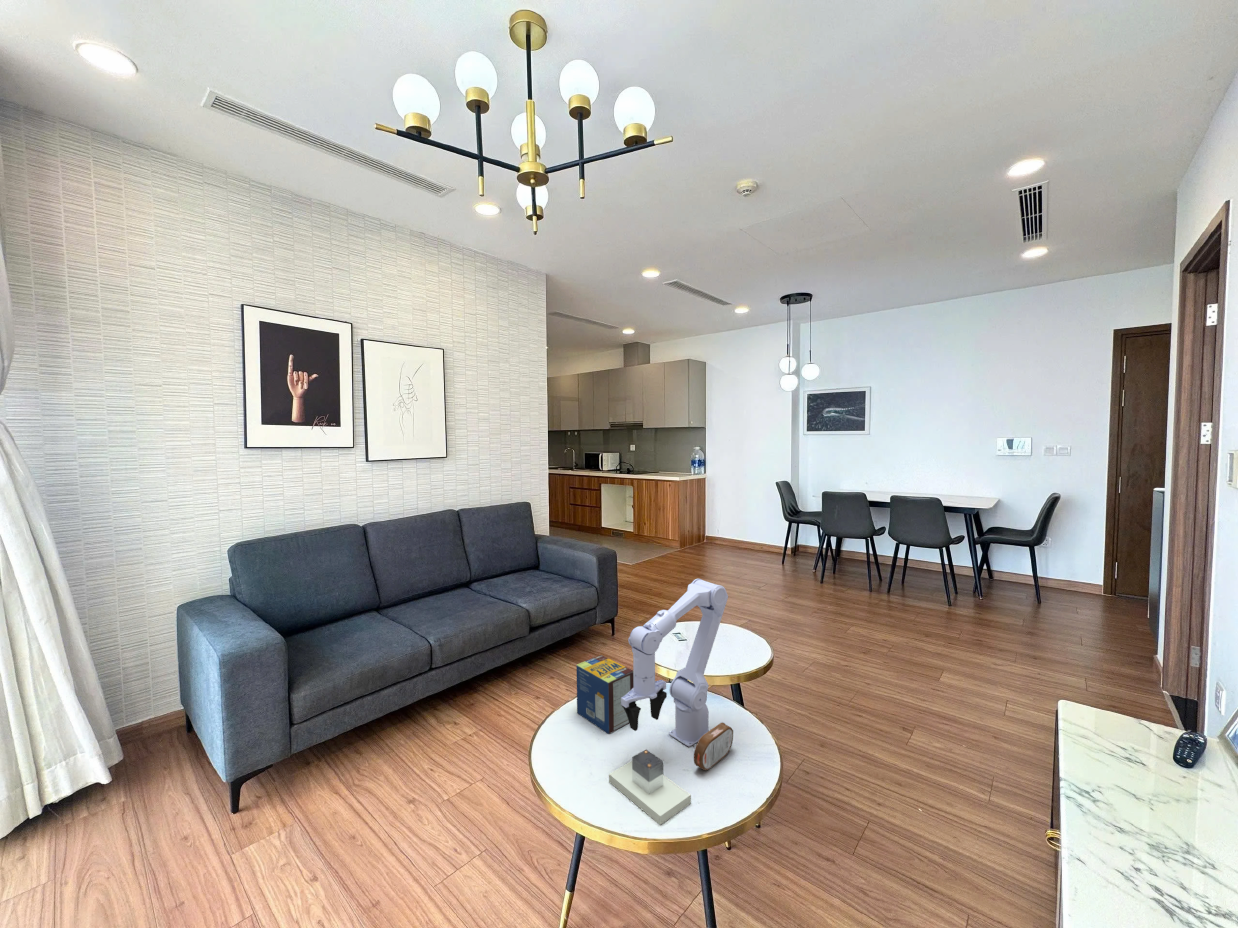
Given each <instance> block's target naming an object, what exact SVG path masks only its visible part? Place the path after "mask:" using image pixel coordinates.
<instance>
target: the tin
mask: <svg viewBox="0 0 1238 928" xmlns="http://www.w3.org/2000/svg"><path fill="white" fill-rule="evenodd" d="M733 740H734V729H733V728H732V727H731V726H729V725H728V724H726V723H725V722H720V723H719V724H717V725H715V726H714V727H713V728H711V729H710V730H709V731H708V732H707V733H706V734H704V735H703V736H702V737H701V738H700V740H699V741H698V742H697V743H696V746H695V749H694V752H693V763H694V765H695V766H696V767H698V768H699V769H701V770H703V771H708V770H710V769H711V768H713V767H714V766H715V765H717V764H718V763H719V762H721V760H723V759H724V758H725V757H726V756H727V755H729V752H730V750H731V748H732V745H733Z"/></svg>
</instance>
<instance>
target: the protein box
mask: <svg viewBox="0 0 1238 928" xmlns="http://www.w3.org/2000/svg"><path fill="white" fill-rule="evenodd" d="M633 688H634V686H633V669H632V668H629V667H627V666H625V665H623V664H621V663H620V662H617V661H614V659H613V660H612V659H610V658H608V657H606V656H605V655H602V654H600V655H597V656H594V657H593V658H590V659H587V660H585V661H582V662H579V663H577V664H576V712H577V713H576V714H578V715H579V716H580V717H583V718H584V719H586V720H587V721H588V722H590V723H591V724H593V725H594V726H596V727H597V728H599V729H600V730H602V731H603V732H605V733H606V734H608V735H611V733H613V732H616V731H618V730H619V729H620V728H621V729H622V727H625V726H626V725H628V724H629V720H628V717H627V714H626V712H625V710H624V708H623V707H622V705H621V698H622V697H623V696H625V695H626V694H627V693H628V692H629V691H630V690H631V689H633Z"/></svg>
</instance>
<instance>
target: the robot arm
mask: <svg viewBox="0 0 1238 928" xmlns="http://www.w3.org/2000/svg"><path fill="white" fill-rule="evenodd" d="M728 599H729V595H728V592H727V589H726V588H725V587H724V586H723V585H721V584H716V583H712V582H709V581H707V580H703V579H701V578H696V579H693V580H692V582H691V583H689V584H688V585H687V590H686V592H685V593H683V595H682V596H680V598H678V600H676V601H675V603H673V604H672V606H671V607H670V608H668V610H667V609H661V610H659V611H657V612H656V614H655V615H654V616H653V617H651V618H650V619H649V620H648V621H647V622H646V623H644V624H643V626H642V625H640V626H639V625H638V626H637V627H634V628H633V629H632V630H631V632H630V634H629V637H628V640H627V641H628V644H629V646H631V652H632V654H633V655H632V660H633V661H632V662H633V664H632V668H633V669H632V670H633V686H634V688H633V689H631V690H630V691H629V692H628V693H627V694H626V695H625V696H623V697H622V698H621V705H622V707H623V708H624V710H625V712H626V714H627V717H628V720H629V723H628V724H629V728H630V729H631V730H633V731H634V732H636V731H638V728H639V716H640V712H641V709H642V708H641V707H640V706H638V704H637V703H636V702H638V701H641V700H646V699H649V705H650V706H649V707H650V717H651V718H653V719H654V720H656V721H657V720H659V718H660V714H661V710H662V707H663V705H664V702H665V701H666V699H667V696H668V693H667V692H666V691H665V690H667V681H665V680H663V679H659V680H656V652H658V649H659V647H660V644H661V643H662V641H663V639H664V638H665V637H666V636H668V634H670V633H671V632H672V631H673V630H674V629H675V628H676V626H677V620H679V619H680V618H681V617H683V616H684V615H686V614H687V613H688V612H690V611H691V610H692V609H694V608H695V607H698V608H699V609H700V612H701V614H702V615H701V619H700V622H699V624H698V628H697V631H696V634H695V637H694V640H693V644H692V647H691V649H690V651H689V652H690V653H689V655H688V659H687V660H686V664H685V667H684V668H682V669H679V670H678V671H676V675H675V677H674V678H673V679H672V681H671V682H670V686H669V695H670V696H671V697H672V699H673V703H674V704H675V706H674V707H675V711H674V712H675V714H674V715H675V718H674V719H675V722H674V723H675V728H674V729H673V730H671V731H669V732H668V735H669V736H671V737H672V738H674V739H676V740H677V741H679V742H680V743H682V744H683V745H685V746H687V747H689V748H690V747H692V746H693V745H695V744H697V743H698V741H699V740H700V738H701V737H702V736H703V735H704V734H706V733H707V732H708V731H710V730H709V729H710V728H709V721H710V720H709V718H710V716H709V708H708V705H707V699H708V689H709V686H710V685H709V683H708V682H707V679H706V677H705V675H704V674H705V671H706V668H707V665H708V661H709V659H710V655H711V653H712V649H713V646H714V643H715V640H716V637H717V633H718V632H719V631H718V630H719V627H720V625H721V624H720V623H721V621H722V618H723V615H724V611H725V608H726V605H727V602H728Z"/></svg>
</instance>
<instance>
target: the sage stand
mask: <svg viewBox="0 0 1238 928" xmlns="http://www.w3.org/2000/svg"><path fill="white" fill-rule="evenodd" d="M608 782H609V783H610V784H611V785H612V786H614V787H615V788H616V789H617V790H618V791H620V793H622V794H623V795H624V796H625V797H626V798H628V799H629V800H630V801H631V802H632V803H634V804H635V805H636V806H637V807H638V808H640V809H641V810H642V811H643V812H644V813H646V814H647V816H648V817H650V818H651V819H653V820H654V821H655V823H657V824H658V825H663V824H664V823H665V822H667V821H668V820H670V818H673V817H674V816H675V815H676V814H678V813H679V812H681V811H682V810H683V809H685V808H686V807H687V806H689V805H691V804H692V795H691V794H690V793H689V792H688V791H687V790H685V789H684V788H682V787H681V786H679V784H677V783H675V782H674V781H673V780H671V779H669V777H667V776H666V775H664V774H663V786H662V787H660V788H659V789H657V790H656V791H654V792H653V793H651V794H650V795H649V794H648V793H647V792H646V791H644V790H643V789H642V788H641V787H639V786H638V785H637V784H635V783H634V782H633V781H632V760H631V761H629V762H628V763H626V764H624V765H622V766H620V767H619V768H617V769H615V770H613V771H612V772H610V773H609V774H608Z"/></svg>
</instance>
